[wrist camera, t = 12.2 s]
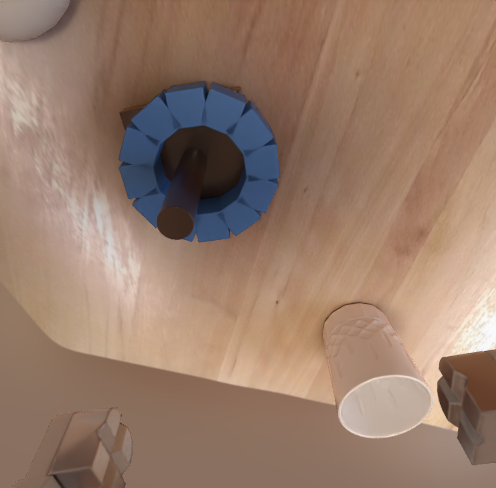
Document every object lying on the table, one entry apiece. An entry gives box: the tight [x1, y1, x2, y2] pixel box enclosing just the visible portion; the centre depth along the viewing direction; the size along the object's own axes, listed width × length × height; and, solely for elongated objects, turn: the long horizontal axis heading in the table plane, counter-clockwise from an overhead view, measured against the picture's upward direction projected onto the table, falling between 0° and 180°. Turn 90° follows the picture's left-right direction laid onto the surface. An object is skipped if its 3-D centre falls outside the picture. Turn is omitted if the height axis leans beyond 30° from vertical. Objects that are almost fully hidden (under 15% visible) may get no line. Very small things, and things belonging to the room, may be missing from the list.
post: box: [120, 87, 245, 240], centre depth 26 cm, size 9×9×12 cm
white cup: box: [323, 303, 433, 438], centre depth 37 cm, size 8×8×10 cm
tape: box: [119, 81, 280, 242], centre depth 29 cm, size 11×11×3 cm
